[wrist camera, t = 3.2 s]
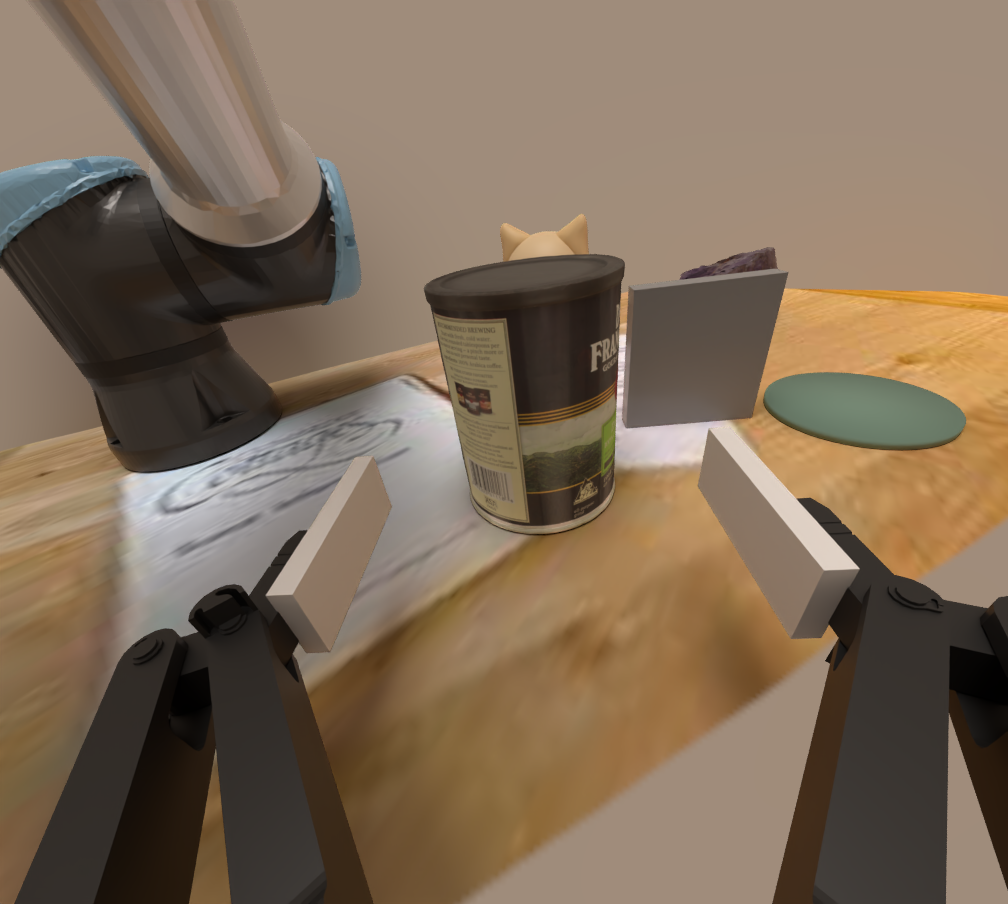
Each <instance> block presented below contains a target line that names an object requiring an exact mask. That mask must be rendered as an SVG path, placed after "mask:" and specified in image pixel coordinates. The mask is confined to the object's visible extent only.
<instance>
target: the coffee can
mask: <svg viewBox="0 0 1008 904" xmlns="http://www.w3.org/2000/svg"><path fill="white" fill-rule="evenodd" d="M624 268H625V263H624V261H623V260H622V259H620V258H617V257H613V256H609V255H597V254H574V255H558V256H544V257H535V258H526V259H519V260H511V261H505V262H500V263H493V264H488V265H482V266H478V267H472V268H468V269H464V270H460V271H456V272H453V273H450V274H447V275H444V276H441V277H439V278H436V279H434V280H432V281H430V282H429V283H427V284H426V285H425V287H424V292H425V296H426V299H427V302H428V303H429V304H430V305H431V310H432V314H433V319H434V324H435V328H436V333H437V337H438V343H439V347H440V352H441V358H442V362H443V366H444V371H445V375H446V380H447V384H448V389H449V394H450V398H451V403H452V407H453V412H454V417H455V422H456V426H457V431H458V436H459V440H460V444H461V449H462V455H463V459H464V463H465V468H466V472H467V477H468V482H469V486H470V497H471V501H472V503H473V506H474V507H475V509H476V510H477V511H478V513H479V514H480V515H481V516H482V517H484V518H485V519H486V520H488V521H489V522H490V523H492V524H494V525H496V526H498V527H500V528H503V529H506V530H510V531H513V532H519V533H525V534H549V533H557V532H562V531H566V530H569V529H573V528H576V527H578V526H580V525H583V524H585V523H587V522H589V521H591V520H592V519H594V518H595V517H596V516H598V515H599V514H600V513H601V512H602V511H603V510H604V509H605V508H606V507H607V506H608V504H609V503H610V501H611V499H612V497H613V494H614V490H615V480H614V456H615V431H616V402H617V380H618V351H619V324H620V299H621V281H622V279H623V277H624Z"/></svg>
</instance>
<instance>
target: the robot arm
mask: <svg viewBox="0 0 1008 904" xmlns="http://www.w3.org/2000/svg"><path fill="white" fill-rule="evenodd" d="M26 1H27V2H28V3H29V5H30V6H31V7H32V9H33V10H34V11H35V12H36V14H37V15H38V16H39V17H40V19H41V20H42V21H43V22H44V24H45V25H46V26H47V27H48V29H49V30H50V31H51V33H52V34H53V35H54V36H55V37H56V39H57V40H58V41H59V43H60V44H61V45H62V46H63V48H64V49H65V50H66V51H67V53H68V54H69V55H70V56H71V58H72V59H73V60H74V62H75V63H76V64H77V65H78V67H79V68H80V69H81V70H82V72H83V73H84V74H85V75H86V77H87V78H88V79H89V81H91V83H92V84H93V86H94V87H95V88H96V89H97V91H98V92H99V93H100V94H101V96H102V97H103V98H104V99H105V101H106V102H107V103H108V105H109V106H110V107H111V108H112V109H113V111H114V112H115V113H116V115H117V116H118V117H119V118H120V120H121V121H122V122H123V123H124V125H125V126H126V127H127V129H128V130H129V131H130V132H131V134H132V135H133V136H134V137H135V139H136V140H137V141H138V142H139V143H140V145H141V146H142V147H143V149H144V150H145V151H146V152H147V154H148V155H149V156H150V165H149V173H150V178H149V177H148V175H147V173H146V172H145V171H144V170H142V169H141V168H140V166H139V165H138V164H137V163H135V162H134V161H132V160H130V159H127V158H123V157H115V156H92V157H84V158H80V159H75V160H68V159H62V160H55V161H49V162H43V163H38V164H34V165H28V166H25V167H20V168H16V169H12V170H8V171H5V172H2V173H0V268H1V269H3V270H4V272H5V273H6V274H7V276H8V277H9V278H10V279H11V281H12V282H13V283H14V285H15V286H16V287H17V289H18V290H19V291H20V293H21V294H22V295H23V297H24V298H25V299H26V300H27V302H28V303H29V304H30V306H31V307H32V308H33V310H34V311H35V312H36V314H37V315H38V316H39V318H40V319H41V320H42V321H43V323H44V324H45V325H46V327H47V328H48V329H49V330H50V332H51V333H52V335H53V336H54V337H55V338H56V340H57V341H58V342H59V344H60V345H61V346H62V348H63V349H64V350H65V351H66V353H67V354H68V355H69V357H70V358H71V359H72V361H73V362H74V363H75V365H76V366H77V367H78V368H79V370H80V371H81V372H82V374H83V375H84V377H86V379H87V381H88V382H89V383H90V385H91V387H92V390H93V393H94V396H95V400H96V404H97V407H98V410H99V414H100V418H101V422H102V425H103V428H104V431H105V434H106V437H107V443H108V446H109V448H110V450H111V451H112V452H113V454H114V455H115V456H116V457H117V459H118V460H119V461H120V462H121V464H122V465H123V466H124V467H125V468H127V469H129V470H132V471H141V472H147V471H159V470H166V469H171V468H176V467H181V466H185V465H188V464H192V463H195V462H199V461H202V460H205V459H208V458H211V457H213V456H216V455H219V454H221V453H224V452H226V451H228V450H231V449H233V448H235V447H237V446H239V445H241V444H243V443H245V442H247V441H249V440H251V439H252V438H254V437H256V436H257V435H259V434H261V433H262V432H264V431H265V430H266V429H268V428H269V427H270V426H271V425H272V424H274V423H275V422H276V421H277V419H278V418H279V417H280V415H281V413H282V407H281V405H280V403H279V401H278V399H277V397H276V395H275V393H274V391H273V390H272V388H271V387H270V386H269V385H268V384H267V383H266V382H265V381H264V380H263V379H262V378H261V377H260V376H259V375H258V374H257V373H256V371H255V370H254V369H253V368H252V367H251V366H250V365H249V364H248V363H247V362H246V361H245V360H244V359H243V358H242V357H241V356H240V355H239V354H238V353H237V352H236V351H235V350H234V348H233V347H232V346H231V343H230V342H229V340H228V338H227V336H226V334H225V332H224V330H223V328H222V326H221V322H227V321H233V320H237V319H242V318H247V317H253V316H259V315H264V314H269V313H275V312H280V311H286V310H292V309H298V308H304V307H309V306H315V305H329V304H331V303H332V302H333V301H337V300H341V299H345V298H349V297H352V296H354V295H355V294H356V293H357V292H358V290H359V288H360V285H361V269H360V261H359V254H358V248H357V245H356V241H355V239H354V237H355V234H354V229H353V222H352V218H351V213H350V210H349V205H348V201H347V197H346V194H345V190H344V187H343V184H342V181H341V178H340V175H339V172H338V170H337V168H336V166H335V165H334V164H333V163H332V162H331V161H329V160H326V159H320V158H319V157H315V156H314V154H313V152H312V150H311V149H310V147H309V146H308V144H307V142H306V141H305V140H304V139H303V138H302V137H301V136H300V135H299V134H298V133H297V132H296V131H295V130H294V129H292V128H291V127H290V126H288V125H287V124H285V123H284V122H282V121H280V118H279V116H278V113H277V111H276V108H275V105H274V103H273V100H272V98H271V95H270V93H269V90H268V87H267V85H266V83H265V80H264V77H263V74H262V72H261V69H260V67H259V64H258V62H257V59H256V56H255V54H254V51H253V49H252V46H251V43H250V41H249V38H248V36H247V33H246V31H245V28H244V26H243V23H242V20H241V18H240V15H239V13H238V10H237V7H236V5H235V2H234V0H26ZM698 487H699V489H700V491H701V492H702V494H703V495H704V497H705V499H706V500H707V502H708V504H709V505H710V507H711V509H712V510H713V512H714V514H715V515H716V517H717V518H718V520H719V522H720V523H721V525H722V527H723V528H724V530H725V532H726V533H727V535H728V537H729V538H730V540H731V541H732V543H733V545H734V546H735V548H736V550H737V551H738V553H739V555H740V556H741V558H742V559H743V561H744V563H745V564H746V566H747V568H748V569H749V571H750V573H751V574H752V576H753V578H754V579H755V581H756V582H757V584H758V586H759V587H760V589H761V591H762V592H763V594H764V596H765V597H766V599H767V601H768V602H769V604H770V605H771V607H772V609H773V610H774V612H775V614H776V615H777V617H778V619H779V620H780V622H781V623H782V625H783V627H784V628H785V630H786V632H787V633H788V635H789V637H790V638H791V639H801V638H821V637H822V636H823V634H824V632H825V630H826V629H827V627H828V625H830V626H831V628H832V629H833V630H834V632H835V633H836V635H837V636H838V637H839V639H838V640H837V642H836V644H835V645H834V647H833V649H832V650H831V652H830V654H829V655H828V657H827V659H826V660H825V661H826V662H828V663H830V667H829V671H828V675H827V679H826V683H825V687H824V692H823V696H822V700H821V704H820V709H819V712H818V717H817V720H816V725H815V729H814V733H813V737H812V741H811V746H810V750H809V754H808V758H807V762H806V766H805V770H804V774H803V779H802V783H801V787H800V791H799V795H798V799H797V803H796V808H795V812H794V816H793V820H792V824H791V828H790V832H789V837H788V841H787V845H786V849H785V853H784V858H783V862H782V866H781V870H780V874H779V878H778V882H777V886H776V891H775V895H774V899H773V903H772V904H946V855H947V849H946V848H947V790H948V789H947V788H948V786H947V785H948V723H949V714H950V717H951V720H952V723H953V726H954V729H955V732H956V735H957V738H958V741H959V744H960V747H961V750H962V753H963V756H964V759H965V762H966V765H967V768H968V771H969V774H970V777H971V780H972V783H973V786H974V790H975V793H976V796H977V799H978V801H979V804H980V808H981V811H982V813H983V817H984V820H985V823H986V826H987V829H988V832H989V835H990V838H991V841H992V844H993V847H994V850H995V853H996V856H997V859H998V862H999V865H1000V868H1001V871H1002V874H1003V877H1004V880H1005V883H1006V886H1007V889H1008V596H1006V597H999V598H998V599H997V600H996V601H995V602H994V603H993V604H992V605H991V606H990V607H989V608H983V607H977V606H973V605H967V604H962V603H957V602H952V601H946V600H943V599H942V598H941V597H940V596H939V595H938V594H937V593H935V592H934V591H933V590H931V589H930V588H928V587H927V586H925V585H923V584H921V583H919V582H916V581H914V580H912V579H909V578H905V577H901V576H897V575H894V574H893V573H892V572H891V571H890V570H889V569H888V568H887V567H886V566H885V565H884V564H883V563H882V562H881V561H880V560H879V559H878V558H877V557H876V556H875V555H874V554H873V553H872V552H871V551H870V550H869V549H868V548H867V547H866V546H865V545H864V544H863V543H862V542H861V541H860V540H859V539H858V538H857V537H856V536H855V535H852V532H851V531H850V530H849V529H848V528H847V527H846V526H845V525H844V524H842V523H841V520H840V519H839V518H838V517H837V516H836V515H835V514H834V513H833V512H832V511H831V510H830V509H829V508H827V507H825V506H824V505H822V504H820V503H818V502H817V501H815V500H813V499H812V498H799V499H796V498H795V497H794V496H793V495H792V494H791V493H790V492H789V491H788V489H787V488H786V487H785V486H784V485H783V484H782V483H781V482H780V481H779V480H778V478H777V477H776V476H775V475H774V474H773V473H772V472H771V471H770V470H769V469H768V467H767V466H766V465H765V464H764V463H763V462H762V461H761V460H760V459H759V458H758V456H757V455H756V454H755V453H754V452H753V451H752V450H751V449H750V448H749V447H748V445H747V444H746V443H745V442H744V441H743V440H742V439H741V438H740V437H739V436H738V435H737V433H736V432H735V431H734V430H733V429H732V428H731V427H719V428H709V430H708V435H707V441H706V446H705V451H704V456H703V462H702V467H701V472H700V477H699V483H698ZM391 507H392V506H391V503H390V500H389V498H388V495H387V492H386V489H385V487H384V484H383V481H382V478H381V476H380V473H379V470H378V467H377V465H376V462H375V459H374V457H373V456H362V457H355V458H354V460H353V461H352V463H351V464H350V466H349V468H348V469H347V471H346V472H345V474H344V475H343V477H342V478H341V480H340V481H339V483H338V485H337V486H336V488H335V489H334V491H333V492H332V494H331V495H330V497H329V498H328V500H327V502H326V503H325V505H324V506H323V508H322V509H321V511H320V512H319V514H318V515H317V517H316V519H315V520H314V522H313V523H312V525H311V526H310V528H309V529H308V530H303V531H298V532H297V533H296V534H295V535H294V536H292V537H291V538H290V539H289V540H288V541H287V542H286V543H285V544H284V546H283V547H282V549H281V550H280V552H279V553H278V557H275V559H274V560H273V562H272V563H271V567H269V568H268V569H267V571H266V572H265V573H264V575H263V576H262V578H261V579H260V581H259V582H258V584H257V585H256V587H255V588H254V589H253V591H252V592H251V594H250V595H249V596H248V594H247V593H246V592H245V590H244V589H243V588H242V586H239V585H235V584H233V585H226V586H223V587H220V588H218V589H215V590H214V591H212V592H211V593H209V594H207V595H206V596H204V597H203V598H202V599H201V600H200V601H199V602H198V603H197V604H196V605H195V606H194V608H193V609H192V611H191V612H190V615H189V619H188V621H189V622H190V623H191V624H192V625H193V626H194V627H195V628H196V629H197V630H198V632H197V633H194V634H191V635H188V636H184V637H180V636H179V635H178V634H177V633H176V632H175V631H174V630H173V629H166V628H165V629H161V630H157V631H154V632H152V633H150V634H148V635H146V636H144V637H143V638H141V639H140V640H139V641H137V642H136V643H135V644H133V645H132V646H131V647H130V648H129V649H128V650H127V651H126V652H125V653H124V655H123V656H122V658H121V659H120V661H119V662H118V665H117V667H116V669H115V671H114V674H113V676H112V678H111V681H110V683H109V685H108V688H107V690H106V692H105V695H104V697H103V699H102V702H101V704H100V706H99V709H98V711H97V713H96V716H95V718H94V720H93V722H92V725H91V727H90V729H89V732H88V734H87V736H86V739H85V741H84V743H83V746H82V748H81V750H80V753H79V755H78V757H77V760H76V762H75V764H74V767H73V769H72V771H71V773H70V776H69V778H68V780H67V783H66V785H65V787H64V790H63V792H62V794H61V797H60V799H59V801H58V804H57V806H56V808H55V811H54V813H53V815H52V818H51V820H50V822H49V824H48V827H47V829H46V831H45V834H44V836H43V838H42V841H41V843H40V845H39V848H38V850H37V852H36V855H35V857H34V859H33V862H32V864H31V866H30V869H29V871H28V873H27V875H26V878H25V880H24V882H23V885H22V887H21V889H20V892H19V894H18V896H17V899H16V901H15V903H14V904H189V900H190V894H191V888H192V882H193V876H194V871H195V865H196V859H197V853H198V847H199V842H200V836H201V830H202V824H203V818H204V813H205V807H206V801H207V795H208V789H209V784H210V778H211V772H212V766H213V760H214V755H215V749H216V752H217V762H218V772H219V782H220V792H221V802H222V813H223V823H224V833H225V843H226V853H227V863H228V873H229V884H230V894H231V904H374V903H373V900H372V897H371V894H370V891H369V888H368V884H367V881H366V878H365V875H364V872H363V869H362V865H361V862H360V859H359V856H358V853H357V850H356V846H355V843H354V840H353V837H352V834H351V831H350V827H349V824H348V821H347V818H346V815H345V812H344V808H343V805H342V802H341V799H340V796H339V793H338V789H337V786H336V783H335V780H334V777H333V774H332V770H331V767H330V764H329V761H328V758H327V755H326V751H325V748H324V745H323V742H322V739H321V736H320V732H319V729H318V726H317V723H316V720H315V717H314V713H313V710H312V707H311V704H310V701H309V698H308V694H307V691H306V688H305V685H304V682H303V679H302V675H301V672H300V669H299V666H298V663H297V660H296V658H295V657H294V656H293V652H294V650H295V648H296V646H297V644H298V642H299V643H300V645H301V646H302V648H303V649H304V650H305V652H306V653H320V652H330V651H331V649H332V647H333V644H334V642H335V639H336V637H337V635H338V632H339V630H340V628H341V625H342V623H343V621H344V618H345V616H346V614H347V611H348V609H349V606H350V604H351V602H352V599H353V597H354V595H355V592H356V590H357V588H358V585H359V583H360V581H361V578H362V576H363V573H364V571H365V569H366V566H367V564H368V562H369V559H370V557H371V555H372V552H373V550H374V548H375V545H376V543H377V540H378V538H379V536H380V533H381V531H382V529H383V526H384V524H385V522H386V519H387V517H388V515H389V512H390V510H391Z"/></svg>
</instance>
